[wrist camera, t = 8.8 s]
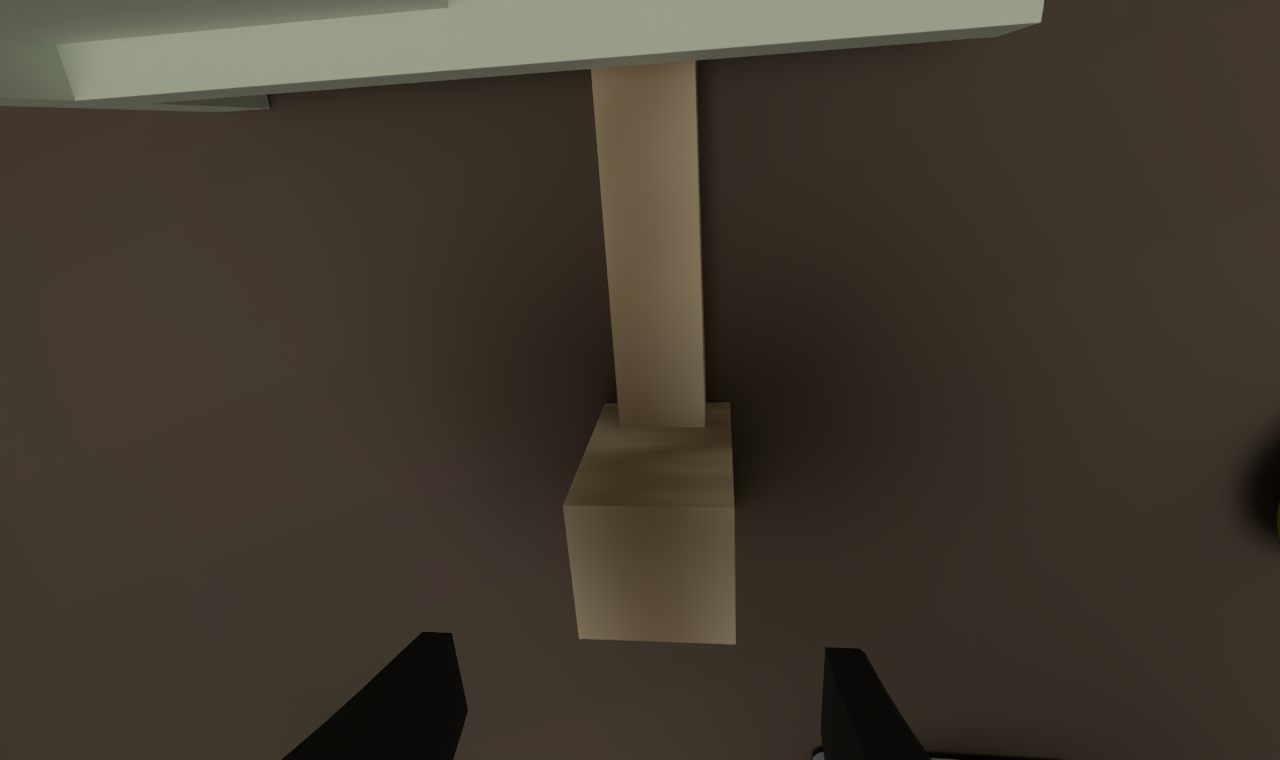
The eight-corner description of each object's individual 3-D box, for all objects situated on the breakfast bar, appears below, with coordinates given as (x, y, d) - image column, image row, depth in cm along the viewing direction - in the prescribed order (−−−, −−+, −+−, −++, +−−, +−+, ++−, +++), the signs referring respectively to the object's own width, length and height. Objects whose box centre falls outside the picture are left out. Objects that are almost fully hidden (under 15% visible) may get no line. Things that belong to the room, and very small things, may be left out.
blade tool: (787, -52, 16) (826, -150, 10) (776, 511, 21) (796, 646, 16) (509, -24, 16) (402, -101, 11) (571, 509, 22) (523, 636, 17)
